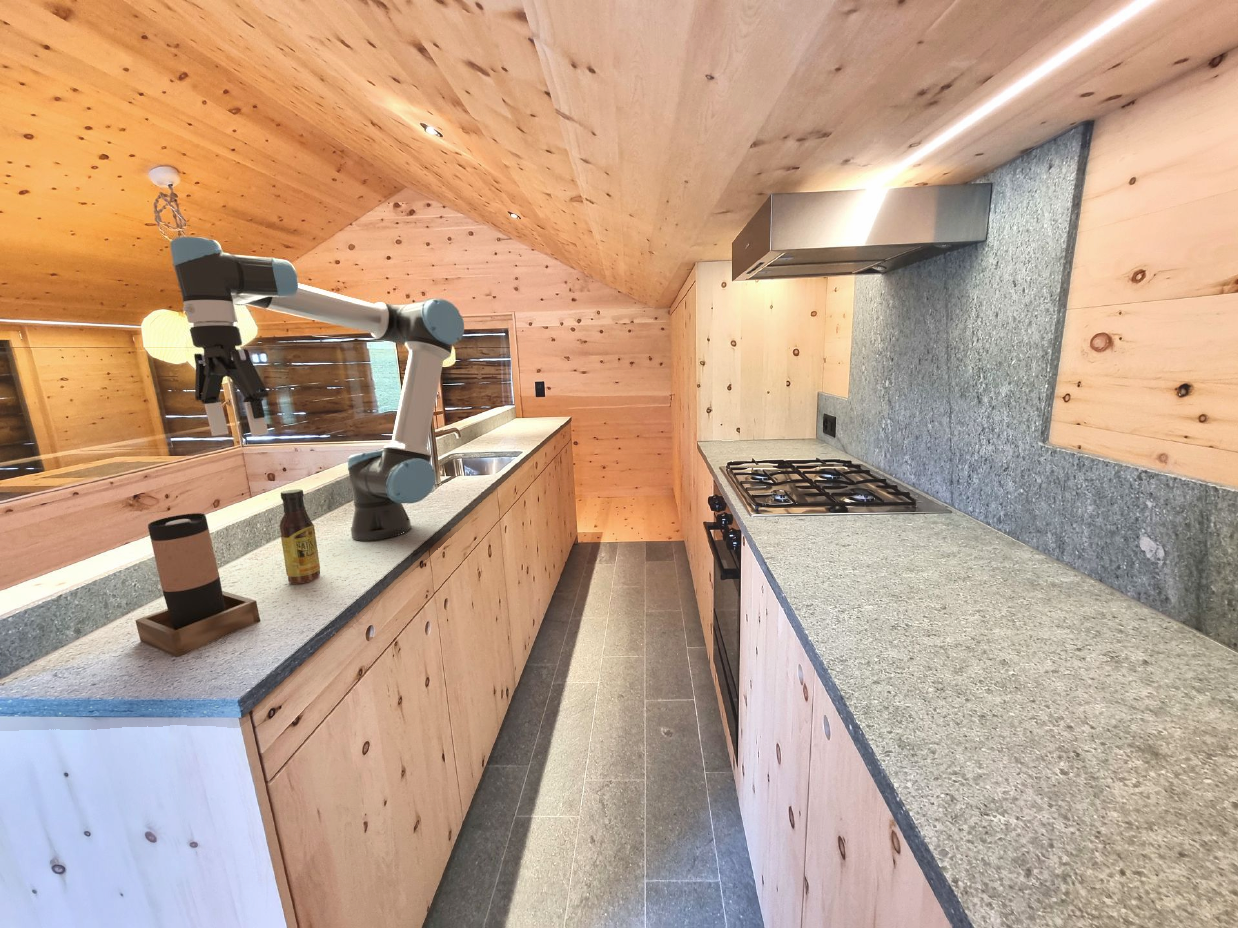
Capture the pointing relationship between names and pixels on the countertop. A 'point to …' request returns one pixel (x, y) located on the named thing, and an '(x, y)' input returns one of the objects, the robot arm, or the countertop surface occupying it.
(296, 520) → the sauce bottle
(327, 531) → the countertop surface
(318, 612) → the countertop surface
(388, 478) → the robot arm
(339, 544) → the countertop surface
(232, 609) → the rectangular wooden tray
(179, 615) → the travel mug
